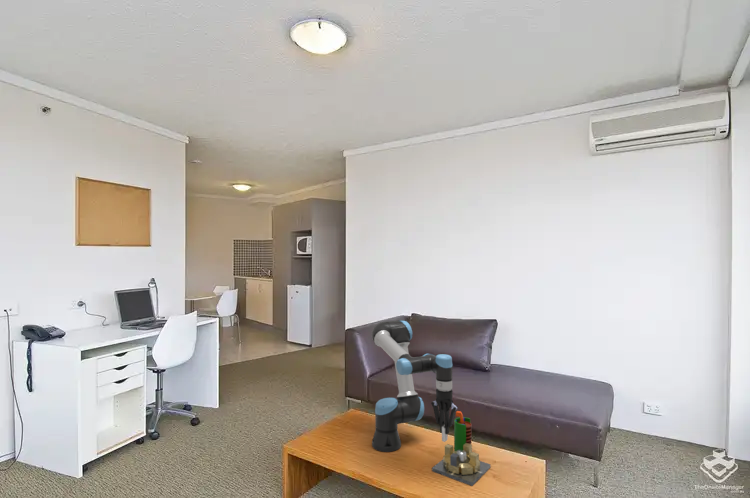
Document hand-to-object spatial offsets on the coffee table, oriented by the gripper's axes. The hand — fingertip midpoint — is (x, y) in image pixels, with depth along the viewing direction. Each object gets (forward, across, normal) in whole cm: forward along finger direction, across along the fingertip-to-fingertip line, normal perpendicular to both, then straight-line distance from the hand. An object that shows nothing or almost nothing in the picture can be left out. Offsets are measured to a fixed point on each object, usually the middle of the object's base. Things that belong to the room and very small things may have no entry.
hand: (444, 440), depth 190 cm
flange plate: (+14, +5, +6) cm, 16 cm away
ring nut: (+13, +5, +6) cm, 15 cm away
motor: (+14, -2, +22) cm, 27 cm away
